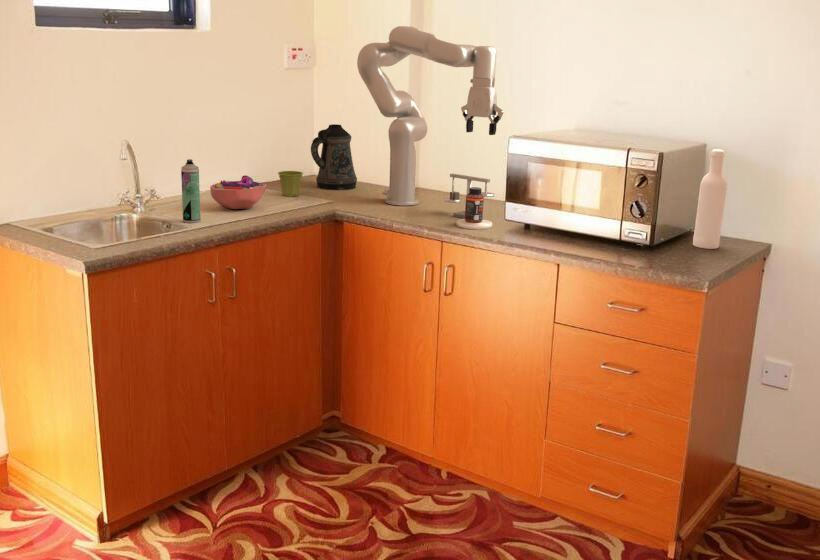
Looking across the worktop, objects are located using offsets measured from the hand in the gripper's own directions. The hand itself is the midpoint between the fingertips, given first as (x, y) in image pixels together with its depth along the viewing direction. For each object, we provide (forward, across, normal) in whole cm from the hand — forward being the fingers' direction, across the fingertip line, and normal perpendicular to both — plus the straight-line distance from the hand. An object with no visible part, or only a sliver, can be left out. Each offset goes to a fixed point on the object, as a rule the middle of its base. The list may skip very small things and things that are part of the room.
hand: (480, 133), depth 301 cm
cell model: (+29, -61, -58) cm, 89 cm away
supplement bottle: (+27, +12, -18) cm, 35 cm away
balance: (+28, +2, -8) cm, 29 cm away
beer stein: (+28, -70, -1) cm, 75 cm away
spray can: (+28, -54, -83) cm, 103 cm away
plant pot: (+28, -68, -27) cm, 79 cm away
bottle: (+28, +79, +13) cm, 85 cm away
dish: (+28, +12, -18) cm, 36 cm away
